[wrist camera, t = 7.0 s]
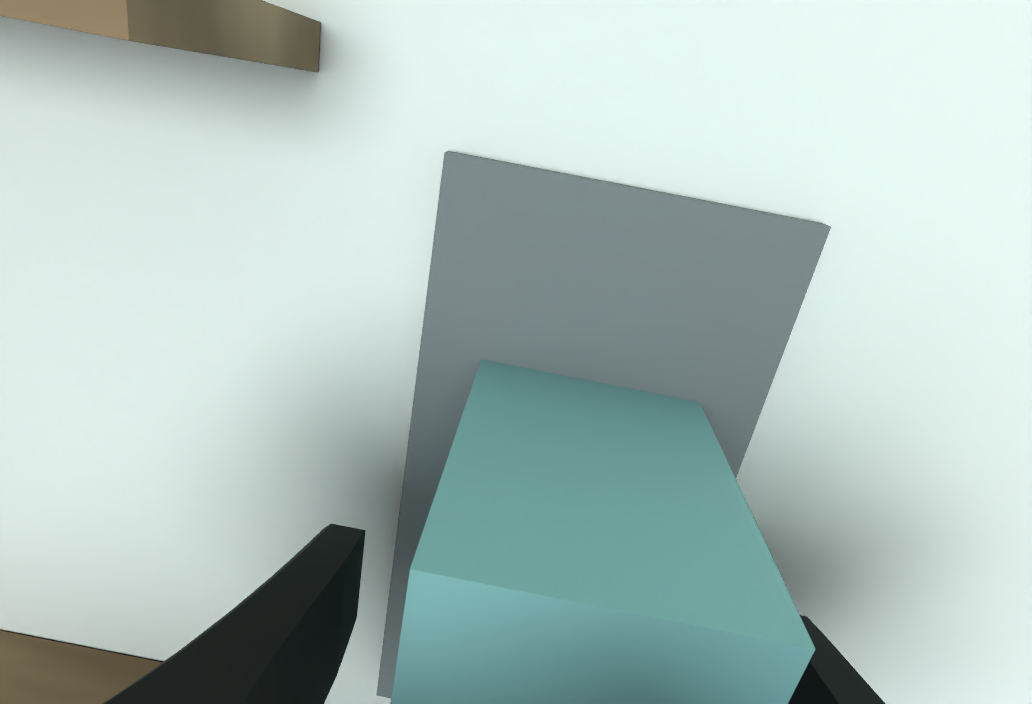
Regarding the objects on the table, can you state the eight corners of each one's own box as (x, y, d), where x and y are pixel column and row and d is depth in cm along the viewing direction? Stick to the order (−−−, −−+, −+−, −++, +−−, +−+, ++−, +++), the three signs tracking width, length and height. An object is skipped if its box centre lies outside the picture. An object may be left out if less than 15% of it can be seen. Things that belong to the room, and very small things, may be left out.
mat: (632, 731, 16) (634, 745, 16) (380, 682, 16) (376, 695, 16) (821, 223, 11) (830, 226, 11) (448, 150, 11) (444, 152, 11)
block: (626, 621, 14) (665, 942, 9) (442, 585, 14) (365, 883, 9) (699, 401, 12) (815, 649, 6) (480, 359, 12) (409, 569, 6)
